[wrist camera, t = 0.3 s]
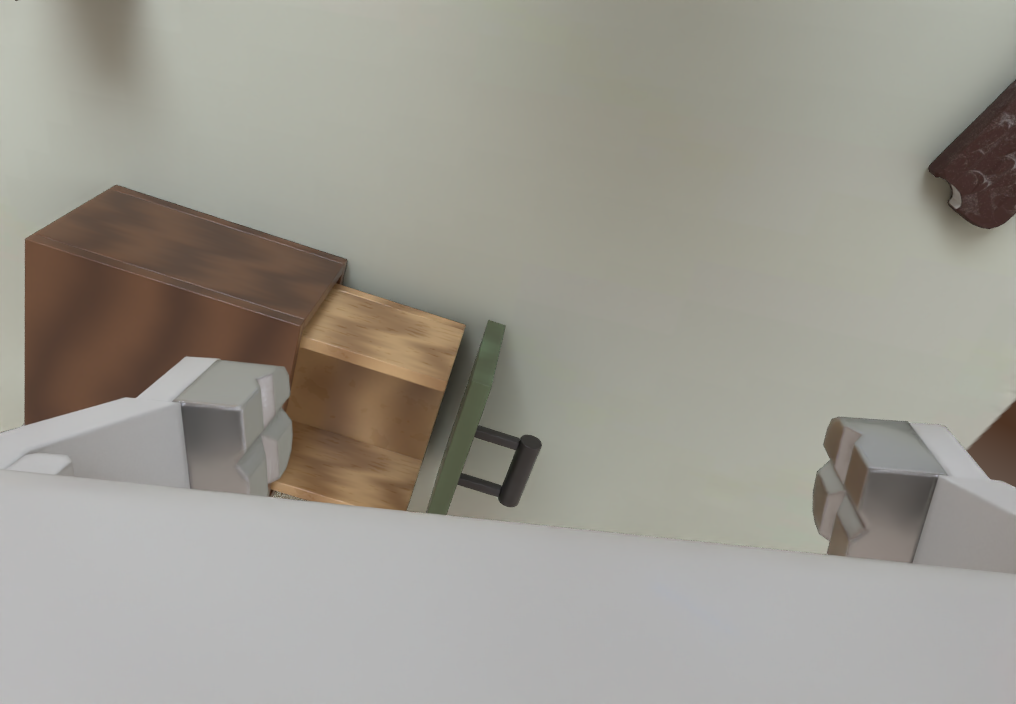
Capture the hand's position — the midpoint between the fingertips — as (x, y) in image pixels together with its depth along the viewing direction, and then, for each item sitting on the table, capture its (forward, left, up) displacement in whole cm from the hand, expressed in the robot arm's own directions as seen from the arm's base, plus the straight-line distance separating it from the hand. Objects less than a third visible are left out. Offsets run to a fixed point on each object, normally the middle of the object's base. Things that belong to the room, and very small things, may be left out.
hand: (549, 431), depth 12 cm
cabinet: (+22, -22, -39) cm, 49 cm away
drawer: (+24, -9, -38) cm, 45 cm away
